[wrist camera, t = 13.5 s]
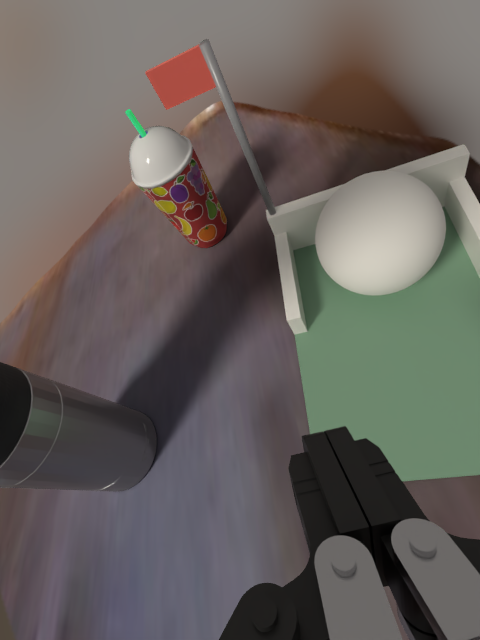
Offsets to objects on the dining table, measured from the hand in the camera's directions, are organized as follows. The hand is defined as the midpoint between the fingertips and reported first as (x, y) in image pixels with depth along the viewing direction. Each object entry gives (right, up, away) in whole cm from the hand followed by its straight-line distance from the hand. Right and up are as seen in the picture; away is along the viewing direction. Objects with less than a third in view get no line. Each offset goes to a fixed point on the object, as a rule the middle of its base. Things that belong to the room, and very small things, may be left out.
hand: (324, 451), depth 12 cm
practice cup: (+11, +3, +25) cm, 28 cm away
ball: (+11, +13, +23) cm, 28 cm away
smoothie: (-7, +18, +41) cm, 45 cm away
